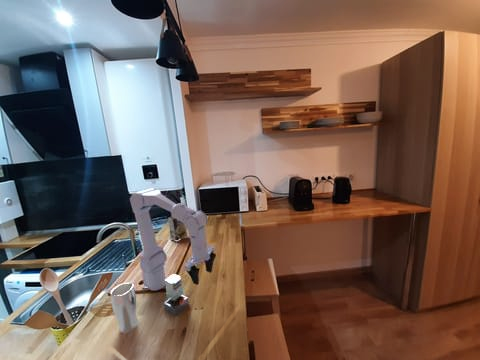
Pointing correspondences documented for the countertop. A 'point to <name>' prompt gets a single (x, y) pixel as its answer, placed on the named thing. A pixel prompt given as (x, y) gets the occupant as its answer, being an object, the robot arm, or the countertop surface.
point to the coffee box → (177, 229)
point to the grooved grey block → (174, 287)
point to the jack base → (176, 310)
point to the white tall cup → (124, 306)
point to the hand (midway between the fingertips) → (202, 277)
